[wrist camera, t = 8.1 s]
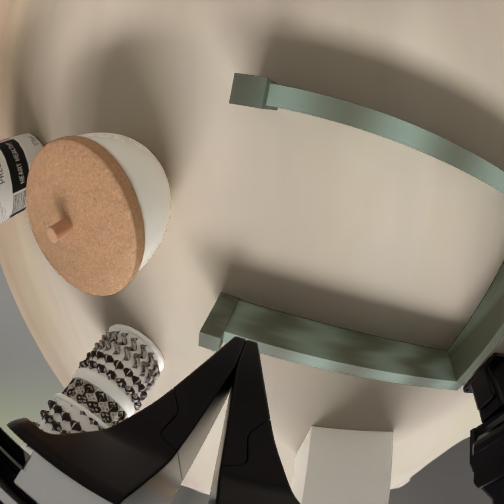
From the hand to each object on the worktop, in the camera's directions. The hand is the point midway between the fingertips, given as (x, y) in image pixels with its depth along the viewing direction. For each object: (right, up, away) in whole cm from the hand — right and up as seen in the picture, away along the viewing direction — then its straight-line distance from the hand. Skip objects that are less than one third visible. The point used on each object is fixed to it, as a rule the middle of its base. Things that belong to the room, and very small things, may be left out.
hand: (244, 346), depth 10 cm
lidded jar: (-9, +9, +12) cm, 17 cm away
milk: (+14, -25, +24) cm, 37 cm away
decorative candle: (-14, -9, +22) cm, 28 cm away
